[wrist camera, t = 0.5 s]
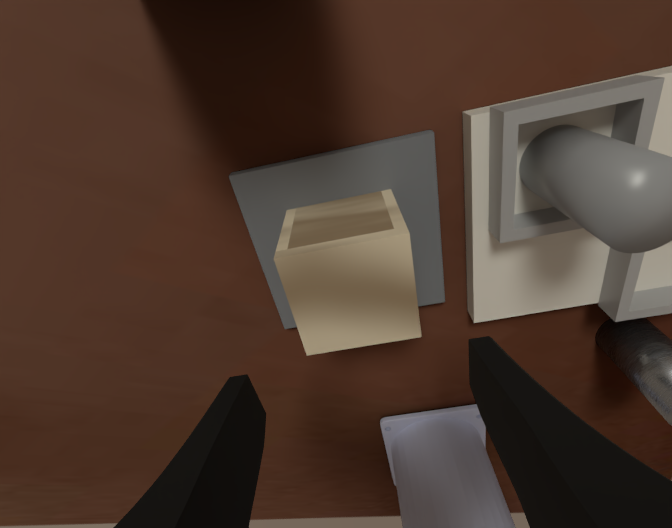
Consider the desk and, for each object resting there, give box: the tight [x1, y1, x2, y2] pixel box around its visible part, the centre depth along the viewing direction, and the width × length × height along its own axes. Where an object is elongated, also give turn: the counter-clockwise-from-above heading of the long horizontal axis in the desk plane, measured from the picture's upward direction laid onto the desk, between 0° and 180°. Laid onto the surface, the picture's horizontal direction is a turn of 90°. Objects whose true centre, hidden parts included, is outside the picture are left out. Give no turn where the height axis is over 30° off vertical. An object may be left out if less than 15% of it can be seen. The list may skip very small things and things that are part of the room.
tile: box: [229, 130, 445, 329], centre depth 19 cm, size 10×10×2 cm
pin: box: [596, 317, 672, 425], centre depth 21 cm, size 3×3×6 cm
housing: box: [274, 189, 421, 355], centre depth 18 cm, size 5×5×5 cm
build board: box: [462, 66, 672, 323], centre depth 16 cm, size 12×14×7 cm
